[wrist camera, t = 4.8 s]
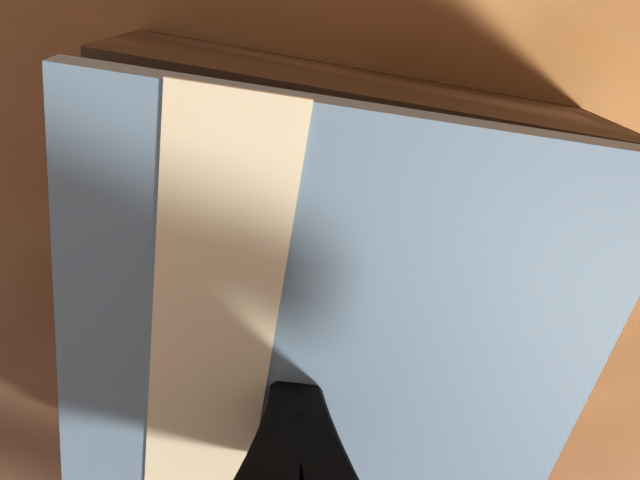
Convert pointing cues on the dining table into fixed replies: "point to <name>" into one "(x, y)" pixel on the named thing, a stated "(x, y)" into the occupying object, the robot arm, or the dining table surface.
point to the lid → (324, 275)
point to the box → (345, 83)
